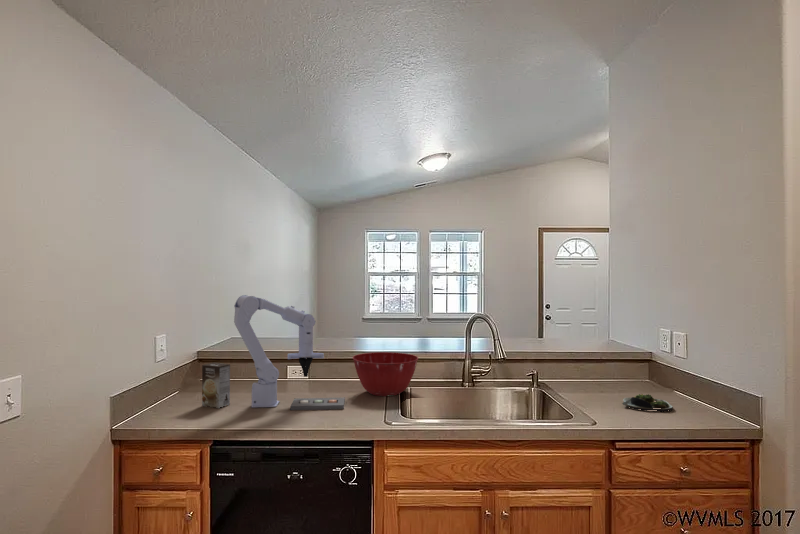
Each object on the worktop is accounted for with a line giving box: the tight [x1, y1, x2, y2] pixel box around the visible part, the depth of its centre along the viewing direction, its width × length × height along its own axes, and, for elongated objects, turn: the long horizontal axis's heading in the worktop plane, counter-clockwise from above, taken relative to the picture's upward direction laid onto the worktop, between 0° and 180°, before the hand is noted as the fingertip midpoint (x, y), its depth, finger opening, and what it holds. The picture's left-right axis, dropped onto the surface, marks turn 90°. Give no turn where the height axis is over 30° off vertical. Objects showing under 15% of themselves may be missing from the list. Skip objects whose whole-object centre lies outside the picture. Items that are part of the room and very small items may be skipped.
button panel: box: [289, 397, 346, 411], centre depth 202 cm, size 20×12×2 cm, turn 94°
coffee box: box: [201, 362, 231, 409], centre depth 202 cm, size 9×6×16 cm
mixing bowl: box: [352, 351, 419, 397], centre depth 223 cm, size 28×28×16 cm
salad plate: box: [621, 393, 674, 411], centre depth 201 cm, size 19×18×5 cm
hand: (305, 376), depth 212 cm, fingers closed
